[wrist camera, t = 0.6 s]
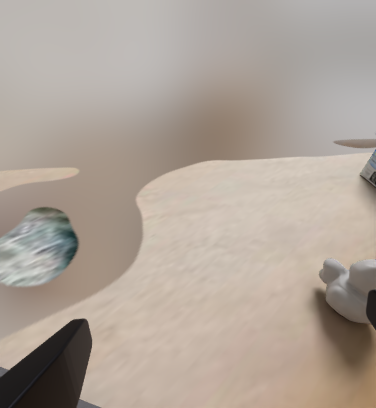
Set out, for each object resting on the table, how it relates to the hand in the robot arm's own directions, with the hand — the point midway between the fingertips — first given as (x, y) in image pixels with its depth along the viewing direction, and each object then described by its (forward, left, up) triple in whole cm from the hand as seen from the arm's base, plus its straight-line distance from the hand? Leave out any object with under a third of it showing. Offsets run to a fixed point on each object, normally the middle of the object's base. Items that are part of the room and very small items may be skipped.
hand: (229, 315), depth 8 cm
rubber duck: (+14, -13, -16) cm, 24 cm away
